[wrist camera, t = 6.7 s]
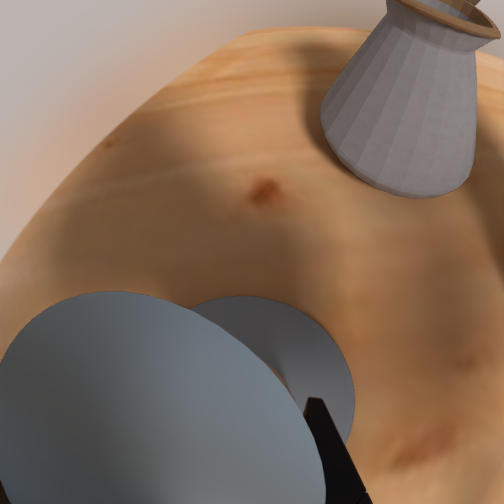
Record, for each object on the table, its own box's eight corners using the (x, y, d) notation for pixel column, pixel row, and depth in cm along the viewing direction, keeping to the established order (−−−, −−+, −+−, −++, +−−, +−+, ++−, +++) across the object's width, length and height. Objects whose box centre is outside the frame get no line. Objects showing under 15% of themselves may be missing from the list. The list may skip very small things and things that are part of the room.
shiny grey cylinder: (282, 468, 12) (275, 638, 1) (174, 445, 13) (-6, 519, 2) (302, 364, 15) (361, 327, 4) (192, 346, 15) (18, 263, 4)
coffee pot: (414, 252, 18) (554, 54, 4) (284, 147, 21) (272, -62, 8) (499, 116, 22) (551, 8, 8) (413, 57, 26) (437, -56, 12)
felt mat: (317, 517, 12) (318, 522, 11) (120, 458, 14) (115, 460, 14) (372, 323, 16) (375, 321, 16) (171, 277, 18) (168, 274, 18)
